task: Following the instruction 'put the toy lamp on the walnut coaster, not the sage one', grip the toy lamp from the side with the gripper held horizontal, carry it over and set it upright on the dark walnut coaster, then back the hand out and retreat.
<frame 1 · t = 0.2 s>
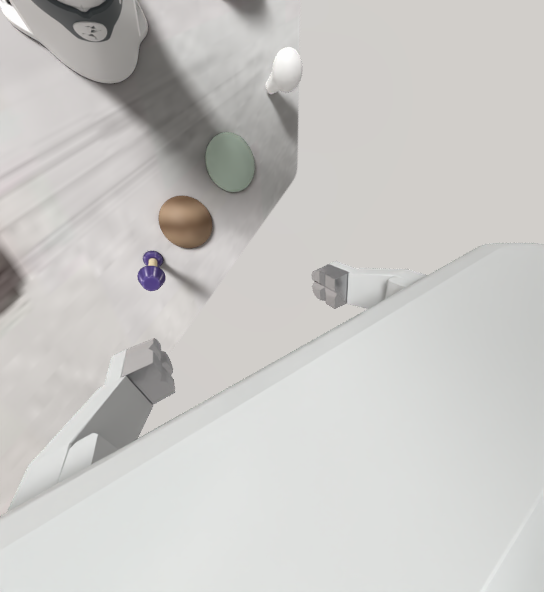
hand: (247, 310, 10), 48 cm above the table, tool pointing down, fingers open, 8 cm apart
sage coaster: (230, 164, 49), on the table
lightbulb: (268, 88, 46), on the table
toy lamp: (152, 260, 49), on the table
walnut coaster: (186, 222, 49), on the table
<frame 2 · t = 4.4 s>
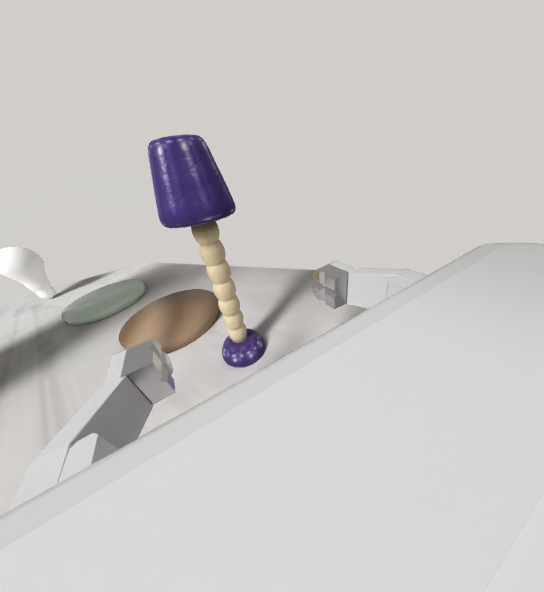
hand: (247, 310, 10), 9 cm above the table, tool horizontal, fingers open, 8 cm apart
sage coaster: (109, 302, 35), on the table
lightbulb: (52, 298, 42), on the table
toy lamp: (247, 352, 20), on the table
walnut coaster: (174, 320, 26), on the table
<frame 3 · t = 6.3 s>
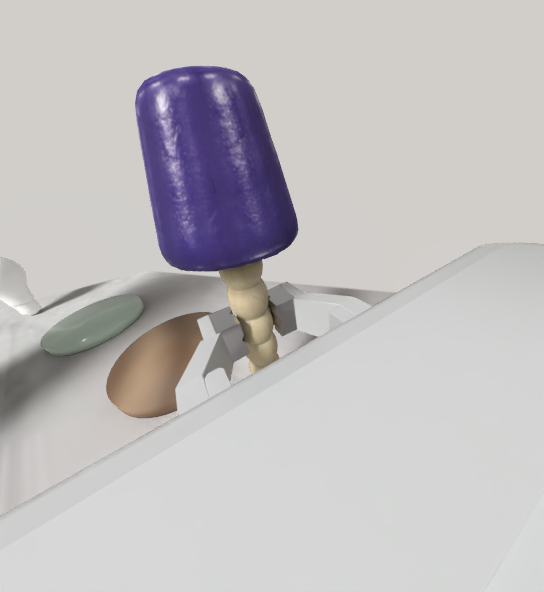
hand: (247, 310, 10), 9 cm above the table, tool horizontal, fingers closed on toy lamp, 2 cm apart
sage coaster: (100, 323, 29), on the table
lightbulb: (36, 314, 36), on the table
toy lamp: (282, 419, 14), on the table, touching gripper
walnut coaster: (179, 356, 21), on the table
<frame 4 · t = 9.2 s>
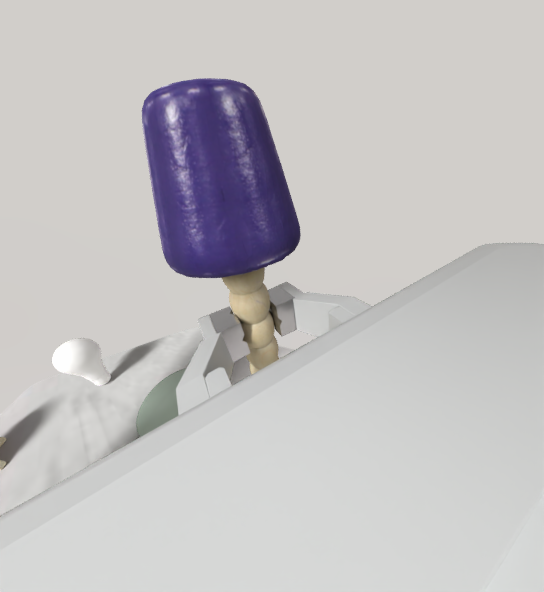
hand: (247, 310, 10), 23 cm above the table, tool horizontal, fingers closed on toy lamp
sage coaster: (180, 403, 32), on the table
lightbulb: (107, 382, 39), on the table
toy lamp: (282, 421, 14), point 14 cm above the table, touching gripper
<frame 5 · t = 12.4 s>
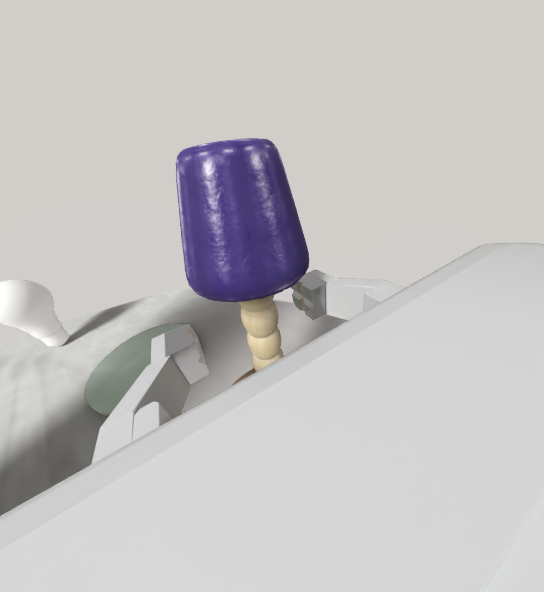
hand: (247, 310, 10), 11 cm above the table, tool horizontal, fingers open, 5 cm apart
sage coaster: (151, 364, 24), on the table
lightbulb: (63, 344, 31), on the table
toy lamp: (284, 427, 15), point 1 cm above the table, touching walnut coaster
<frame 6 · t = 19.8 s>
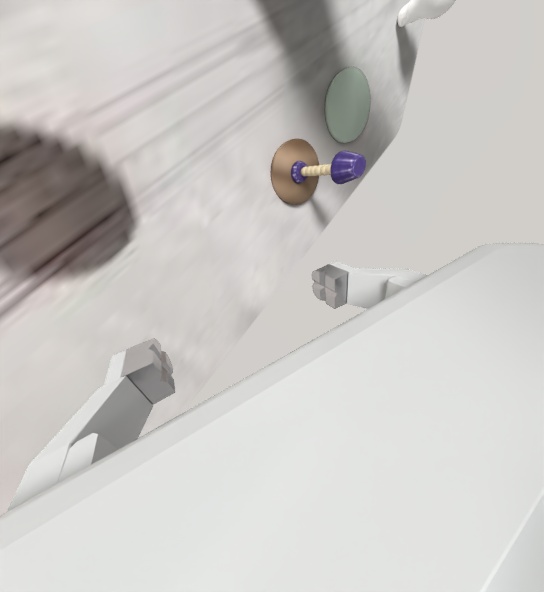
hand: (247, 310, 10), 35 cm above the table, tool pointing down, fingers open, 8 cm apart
sage coaster: (346, 108, 43), on the table
lightbulb: (397, 20, 41), on the table
toy lamp: (296, 173, 43), point 1 cm above the table, touching walnut coaster
walnut coaster: (294, 173, 44), on the table
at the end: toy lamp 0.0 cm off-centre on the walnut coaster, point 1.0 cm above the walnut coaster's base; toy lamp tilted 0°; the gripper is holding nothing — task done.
